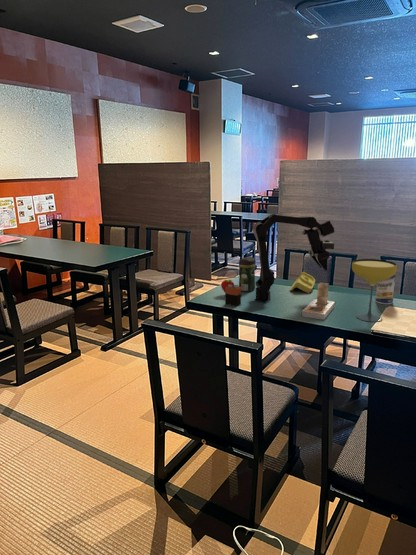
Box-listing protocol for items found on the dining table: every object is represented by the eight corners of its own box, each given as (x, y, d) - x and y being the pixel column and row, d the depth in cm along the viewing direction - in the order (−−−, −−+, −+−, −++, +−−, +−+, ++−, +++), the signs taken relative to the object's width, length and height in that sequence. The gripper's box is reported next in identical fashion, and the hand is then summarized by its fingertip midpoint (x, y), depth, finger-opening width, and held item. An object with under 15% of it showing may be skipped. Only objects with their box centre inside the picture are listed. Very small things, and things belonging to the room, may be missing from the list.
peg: (316, 308, 194) (318, 284, 191) (318, 306, 197) (320, 282, 194) (324, 309, 192) (326, 285, 189) (326, 307, 195) (328, 283, 192)
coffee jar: (244, 286, 233) (244, 255, 228) (256, 288, 229) (257, 256, 224) (236, 290, 225) (236, 258, 220) (249, 292, 221) (249, 259, 216)
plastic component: (311, 289, 218) (295, 280, 220) (305, 300, 221) (289, 291, 223) (316, 278, 236) (301, 270, 238) (310, 288, 239) (295, 280, 241)
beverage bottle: (395, 302, 203) (399, 263, 198) (389, 305, 197) (393, 265, 192) (378, 298, 209) (382, 260, 204) (372, 302, 203) (375, 263, 198)
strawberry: (224, 292, 222) (224, 274, 219) (236, 294, 218) (236, 276, 216) (218, 295, 217) (218, 277, 214) (231, 297, 213) (231, 278, 211)
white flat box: (301, 316, 183) (302, 310, 183) (314, 303, 201) (314, 298, 200) (324, 319, 179) (324, 313, 178) (334, 306, 196) (335, 301, 196)
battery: (237, 306, 197) (237, 287, 195) (224, 304, 201) (224, 285, 198) (241, 304, 201) (241, 285, 198) (229, 302, 204) (229, 283, 202)
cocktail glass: (380, 311, 190) (385, 258, 184) (399, 324, 172) (405, 267, 166) (341, 311, 189) (346, 259, 183) (357, 325, 172) (362, 267, 166)
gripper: (335, 236, 194) (344, 266, 196) (324, 233, 212) (333, 260, 215) (313, 244, 194) (322, 274, 197) (304, 240, 213) (313, 268, 215)
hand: (323, 268), depth 206 cm, fingers open, 9 cm apart
